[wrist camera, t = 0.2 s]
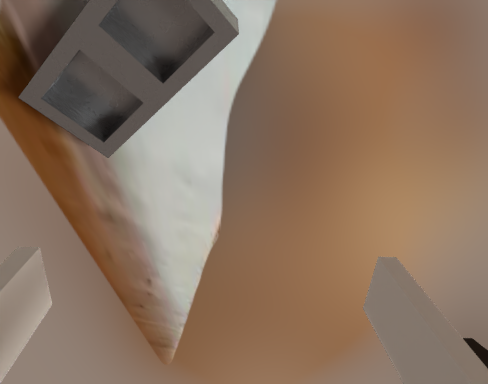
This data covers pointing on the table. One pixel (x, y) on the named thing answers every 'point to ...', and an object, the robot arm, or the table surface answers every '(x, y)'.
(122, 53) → the cinder block
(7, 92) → the table surface
